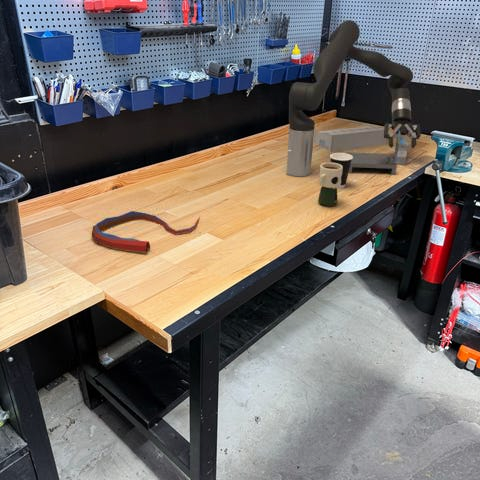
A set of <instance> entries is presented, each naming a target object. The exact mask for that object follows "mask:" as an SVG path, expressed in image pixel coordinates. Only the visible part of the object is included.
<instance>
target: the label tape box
mask: <svg viewBox="0 0 480 480" xmlns="http://www.w3.org/2000/svg"><path fill="white" fill-rule="evenodd" d="M401 136H402V135H401V134H400V131H399V132H398V135H397V134H396V142H395V149H394V153H393V154H394V155H393V160H394V161H395V163H396V164H397V166H398V165H399V166H405V165H406V162H407V161H406V160H407V156H408V155H407V153H408V146H409V144H408V142H407V140H406V139H405V138H404V137H401Z"/></svg>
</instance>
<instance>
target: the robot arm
mask: <svg viewBox="0 0 480 480" xmlns="http://www.w3.org/2000/svg"><path fill="white" fill-rule="evenodd" d="M360 36H361V31H360V27H359V25H358V23H357V22H355V21H354V20H350V19H349V20H344V21H343V22H341V23H340V24H339V25H338V26H337V28H336V29H334V31H332V33H331V34H330V35H329V37H328V41H329V43H328V44H327V45H326V46H325V48H324V49H323V50H322V51H321V52H320V53H319V55H318V56H317V57H316V59H315V61H314V63H313V67H312V70H313V74H314V77H315V80H316V82H312V83H310V82H302V81H301V82H299V81H297V82H294V83H292V84H291V87H290V90H289V95H288V125H289V127H288V144H287V157H286V175H289V176H293V177H306V176H309V175H310V174H311V171H312V170H311V169H312V161H313V160H312V157H313V148H314V139H315V126H316V122H315V121H314V120H313V118H310V117H309V116H307V115H306V114H305V113H304V112H303V111H307V112H309V111H311V112H313V111H315V110H317V109H318V108H319V106H320V104H321V103H322V101H323V99H324V97H325V95H326V92H327V90H328V88H329V86H330V84H331V82H332V80H333V79H334V78H335V76H336V75H337V73H338V72H339V69H340V68H341V66H342V64H343V63H344V60H345V59H346V57H348V58H349V59H352V60H354V61H356V62H358V63H360V64H363V65H364V66H366V67H367V68H369V69H371V70H372V71H373V72H374V73H376V74H377V75H379V76H380V77H382V78H387V77H389V78H388V79H387V87H388V89H389V91H390V95H391V100H392V102H391V123H388V122H385V124H384V127H383V128H384V138H387V141H388V147H390V148H391V149H392V148H394V137H395V136H397V135H398V132H399V131H400V134H401V136H407V138H409V139H410V140H411V141H410V146H411V149H415V147H416V146H417V140H420V137H422V135H421V134H422V133H421V126H420V123H417V124H412V109H411V108H412V107H411V106H412V105H411V97H410V96H411V95H410V90H409V89H408V88H406V87H405V86H407V85H408V84H410V83H411V82H412V81H413V79H414V73H413V71H412V70H411V69H410V67H408V66H406V65H404V64H400V63H398V62H395V61H393V60H391V59H390V58H388V57H387V56H385V54H383V53H380V52H378V51H376V50H369V49H368V50H367V49H362V48H358V47H357V46H354V44H355V43H357V41H358V40H359V38H360ZM390 129H391V130H392V132H391V133H390V134H389V131H388V130H390ZM412 129H413V130H412ZM414 132H415V133H414ZM398 136H399V135H398Z"/></svg>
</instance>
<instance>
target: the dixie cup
mask: <svg viewBox="0 0 480 480" xmlns="http://www.w3.org/2000/svg"><path fill="white" fill-rule="evenodd" d="M329 157H330V163H338V164H340V165H342V166H343V170H342V176H341V185H340V186H339V187H337V189H344V187H345V186H346V185H347V182H348V176H349V174H350V173H349V169H350V165H351V161H352V159H353V156H352V155H349V154H346V153H345V152H334V153H331V154H330V155H329Z"/></svg>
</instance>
